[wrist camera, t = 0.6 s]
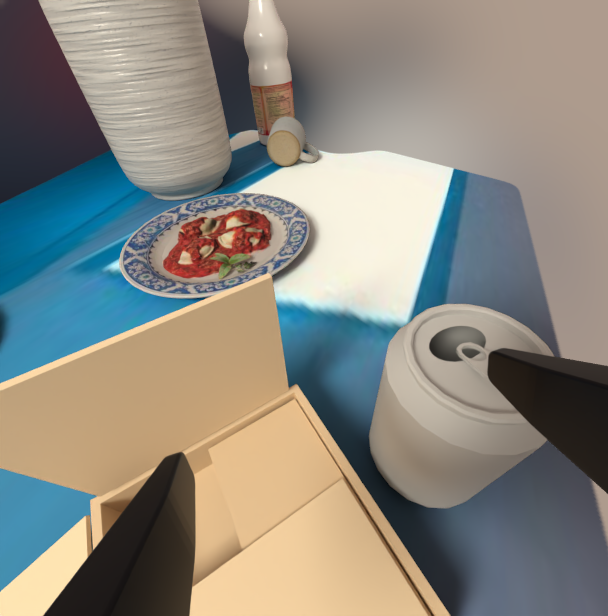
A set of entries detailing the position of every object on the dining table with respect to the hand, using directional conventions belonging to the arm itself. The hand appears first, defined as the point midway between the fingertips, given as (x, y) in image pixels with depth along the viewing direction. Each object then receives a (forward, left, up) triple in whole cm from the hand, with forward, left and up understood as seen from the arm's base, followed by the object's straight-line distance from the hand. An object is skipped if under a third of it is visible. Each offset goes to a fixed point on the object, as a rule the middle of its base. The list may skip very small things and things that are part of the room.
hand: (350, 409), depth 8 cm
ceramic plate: (+33, +14, -15) cm, 39 cm away
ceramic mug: (+65, +4, -15) cm, 66 cm away
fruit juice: (+80, +8, -15) cm, 81 cm away
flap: (+4, +8, -11) cm, 14 cm away
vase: (+56, +25, -15) cm, 63 cm away
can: (+4, -6, -15) cm, 17 cm away
